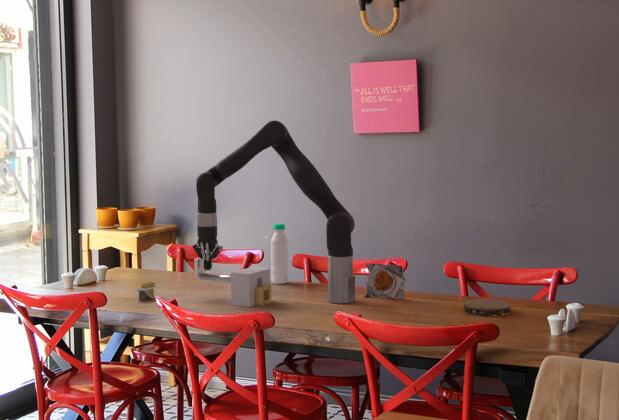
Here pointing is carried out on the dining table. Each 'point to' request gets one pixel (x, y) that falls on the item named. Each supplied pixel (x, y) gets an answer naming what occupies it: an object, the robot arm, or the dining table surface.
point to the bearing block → (247, 285)
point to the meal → (385, 281)
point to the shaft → (202, 274)
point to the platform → (146, 290)
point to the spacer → (262, 294)
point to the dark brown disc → (486, 307)
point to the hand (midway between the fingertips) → (207, 269)
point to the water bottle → (279, 255)
